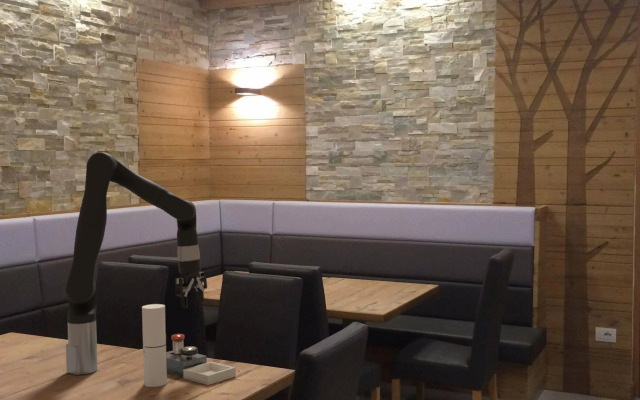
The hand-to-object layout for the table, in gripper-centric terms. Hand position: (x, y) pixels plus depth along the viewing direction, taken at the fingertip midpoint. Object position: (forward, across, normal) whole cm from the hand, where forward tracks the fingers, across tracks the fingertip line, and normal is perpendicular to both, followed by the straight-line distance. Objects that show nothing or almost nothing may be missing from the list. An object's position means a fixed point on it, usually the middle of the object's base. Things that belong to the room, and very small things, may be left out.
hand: (193, 304), depth 254 cm
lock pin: (+21, +4, -5) cm, 22 cm away
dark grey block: (+21, +6, -2) cm, 22 cm away
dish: (+22, +9, +12) cm, 26 cm away
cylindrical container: (+21, +22, 0) cm, 30 cm away
